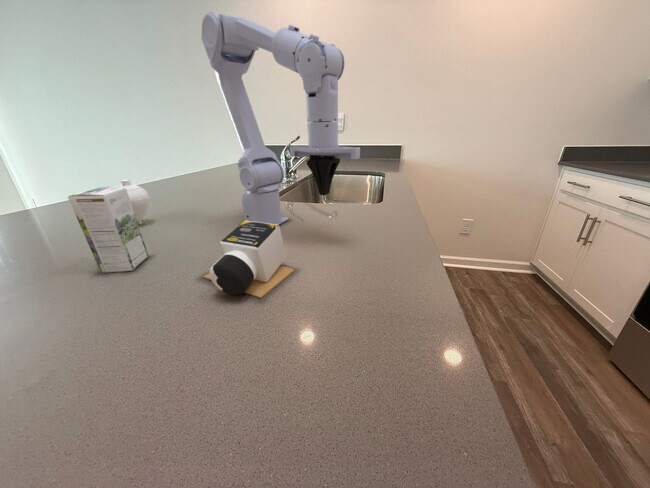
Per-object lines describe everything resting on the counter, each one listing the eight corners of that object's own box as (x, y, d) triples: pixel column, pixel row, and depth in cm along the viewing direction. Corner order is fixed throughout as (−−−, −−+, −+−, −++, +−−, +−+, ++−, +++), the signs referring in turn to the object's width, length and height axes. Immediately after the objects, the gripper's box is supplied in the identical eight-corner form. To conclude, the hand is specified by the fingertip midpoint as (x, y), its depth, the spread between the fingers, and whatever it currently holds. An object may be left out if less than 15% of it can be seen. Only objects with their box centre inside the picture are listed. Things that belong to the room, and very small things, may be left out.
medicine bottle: (279, 223, 43) (236, 270, 34) (287, 256, 47) (250, 305, 39) (244, 219, 46) (195, 261, 37) (254, 251, 50) (213, 296, 41)
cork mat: (203, 277, 45) (203, 276, 45) (241, 255, 52) (241, 254, 52) (261, 298, 39) (260, 297, 39) (294, 270, 46) (294, 269, 46)
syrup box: (120, 258, 52) (90, 187, 46) (150, 256, 52) (125, 185, 46) (100, 273, 47) (64, 195, 41) (134, 271, 47) (103, 193, 41)
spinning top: (163, 219, 73) (150, 176, 68) (143, 230, 66) (127, 183, 61) (138, 219, 74) (123, 176, 68) (116, 229, 67) (97, 183, 62)
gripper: (278, 123, 48) (284, 194, 54) (349, 121, 42) (348, 202, 47) (299, 122, 53) (303, 187, 59) (365, 120, 47) (362, 193, 53)
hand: (324, 193), depth 54 cm, fingers closed
